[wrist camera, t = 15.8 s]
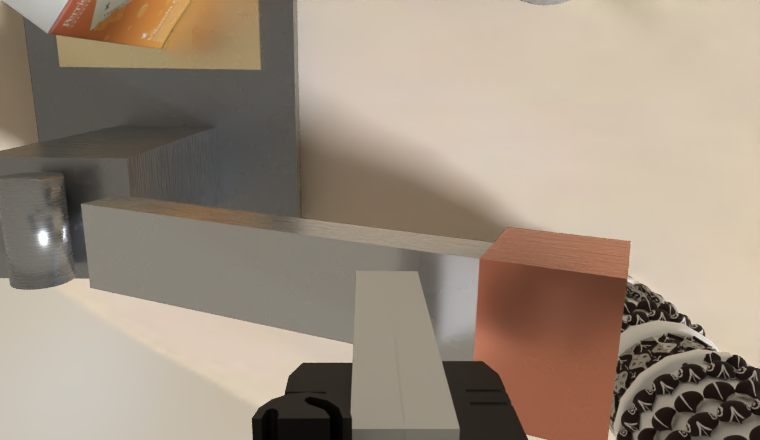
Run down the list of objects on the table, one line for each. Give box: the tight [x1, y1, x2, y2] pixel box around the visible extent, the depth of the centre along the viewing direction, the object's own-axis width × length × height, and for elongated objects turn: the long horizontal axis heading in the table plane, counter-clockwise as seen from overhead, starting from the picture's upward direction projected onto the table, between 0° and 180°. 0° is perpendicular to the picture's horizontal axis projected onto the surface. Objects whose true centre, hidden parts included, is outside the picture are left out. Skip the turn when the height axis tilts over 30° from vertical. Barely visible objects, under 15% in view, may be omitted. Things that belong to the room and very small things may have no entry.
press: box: [0, 0, 301, 278], centre depth 30 cm, size 22×16×16 cm
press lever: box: [0, 172, 630, 440], centre depth 18 cm, size 4×22×3 cm, turn 89°
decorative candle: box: [609, 277, 760, 440], centre depth 31 cm, size 9×9×25 cm
